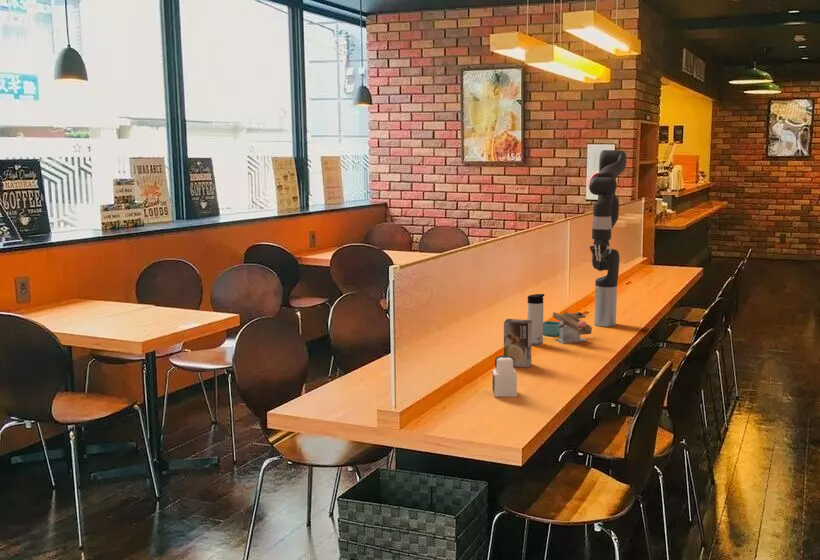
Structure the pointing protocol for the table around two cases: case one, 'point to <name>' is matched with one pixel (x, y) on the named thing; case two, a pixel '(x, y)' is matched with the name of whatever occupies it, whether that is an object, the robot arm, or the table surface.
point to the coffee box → (518, 341)
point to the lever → (573, 322)
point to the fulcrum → (568, 334)
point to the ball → (582, 324)
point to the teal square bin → (551, 328)
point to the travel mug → (535, 318)
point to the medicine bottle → (504, 377)
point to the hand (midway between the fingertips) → (600, 270)
